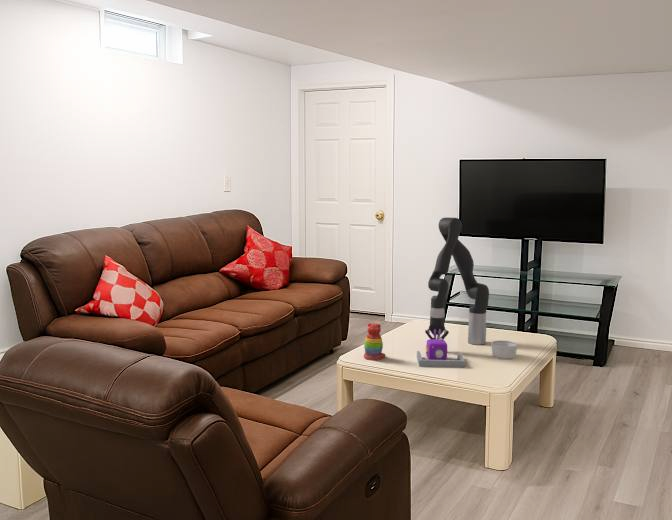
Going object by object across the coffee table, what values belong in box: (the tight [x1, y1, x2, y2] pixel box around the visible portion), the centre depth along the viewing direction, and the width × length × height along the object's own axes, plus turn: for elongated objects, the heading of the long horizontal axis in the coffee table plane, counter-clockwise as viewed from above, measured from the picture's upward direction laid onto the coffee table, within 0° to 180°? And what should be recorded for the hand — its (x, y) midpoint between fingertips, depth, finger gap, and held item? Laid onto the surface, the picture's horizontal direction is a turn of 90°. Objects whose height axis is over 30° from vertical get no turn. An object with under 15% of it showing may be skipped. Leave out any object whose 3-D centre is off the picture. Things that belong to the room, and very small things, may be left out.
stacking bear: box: [363, 322, 387, 361], centre depth 354 cm, size 11×10×18 cm
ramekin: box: [490, 339, 519, 360], centre depth 360 cm, size 13×13×7 cm
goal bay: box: [416, 350, 466, 368], centre depth 348 cm, size 22×16×3 cm
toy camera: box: [425, 337, 448, 360], centre depth 351 cm, size 11×14×10 cm
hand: (436, 347), depth 369 cm, fingers closed
